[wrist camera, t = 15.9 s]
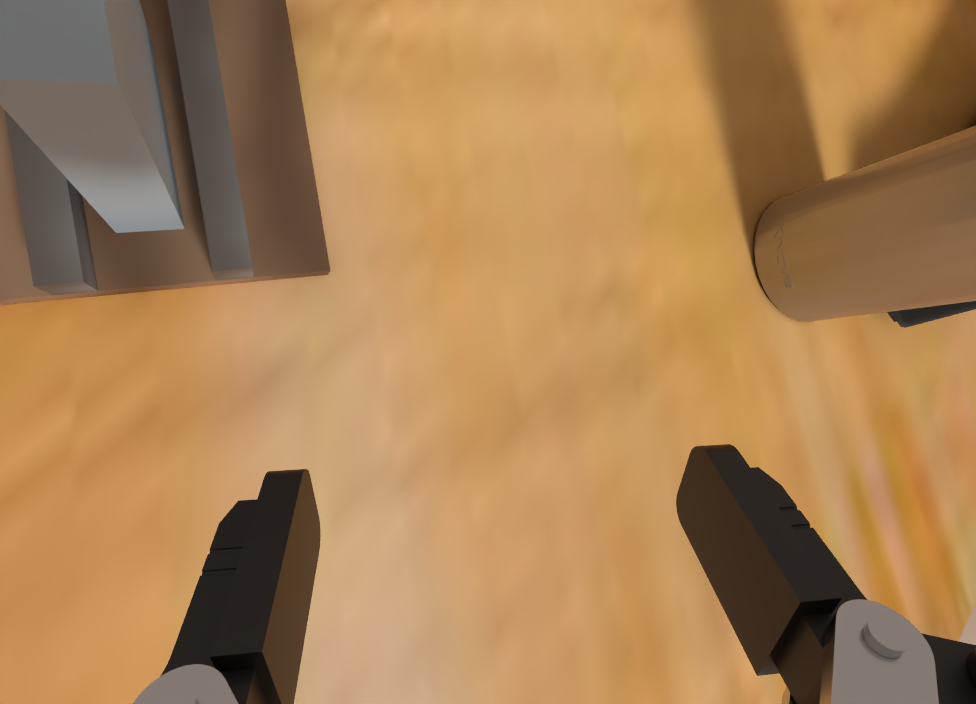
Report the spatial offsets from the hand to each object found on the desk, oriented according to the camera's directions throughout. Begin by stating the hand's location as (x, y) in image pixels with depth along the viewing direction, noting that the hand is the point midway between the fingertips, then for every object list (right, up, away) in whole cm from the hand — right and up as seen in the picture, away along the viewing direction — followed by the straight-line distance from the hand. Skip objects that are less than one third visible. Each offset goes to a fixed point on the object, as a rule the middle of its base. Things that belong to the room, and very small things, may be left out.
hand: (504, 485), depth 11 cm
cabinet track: (-16, +12, +12) cm, 23 cm away
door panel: (-15, +12, +11) cm, 22 cm away
